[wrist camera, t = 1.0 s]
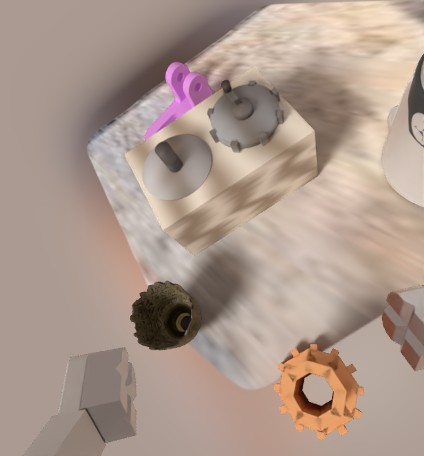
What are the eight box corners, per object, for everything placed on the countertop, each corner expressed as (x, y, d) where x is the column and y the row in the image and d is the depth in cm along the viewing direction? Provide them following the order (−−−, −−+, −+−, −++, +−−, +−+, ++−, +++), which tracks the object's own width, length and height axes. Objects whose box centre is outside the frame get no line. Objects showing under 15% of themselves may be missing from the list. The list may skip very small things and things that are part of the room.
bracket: (194, 88, 60) (178, 56, 54) (216, 101, 57) (202, 69, 51) (142, 143, 59) (120, 116, 53) (162, 158, 56) (142, 133, 50)
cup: (156, 304, 47) (125, 292, 40) (205, 286, 46) (182, 271, 39) (166, 360, 44) (135, 359, 37) (220, 343, 43) (198, 338, 36)
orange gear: (328, 329, 39) (326, 318, 31) (382, 409, 35) (398, 422, 26) (261, 370, 40) (241, 370, 31) (306, 453, 36) (298, 480, 27)
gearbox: (266, 117, 53) (246, 40, 40) (318, 175, 47) (312, 106, 34) (158, 189, 54) (106, 136, 42) (194, 255, 48) (146, 216, 36)
